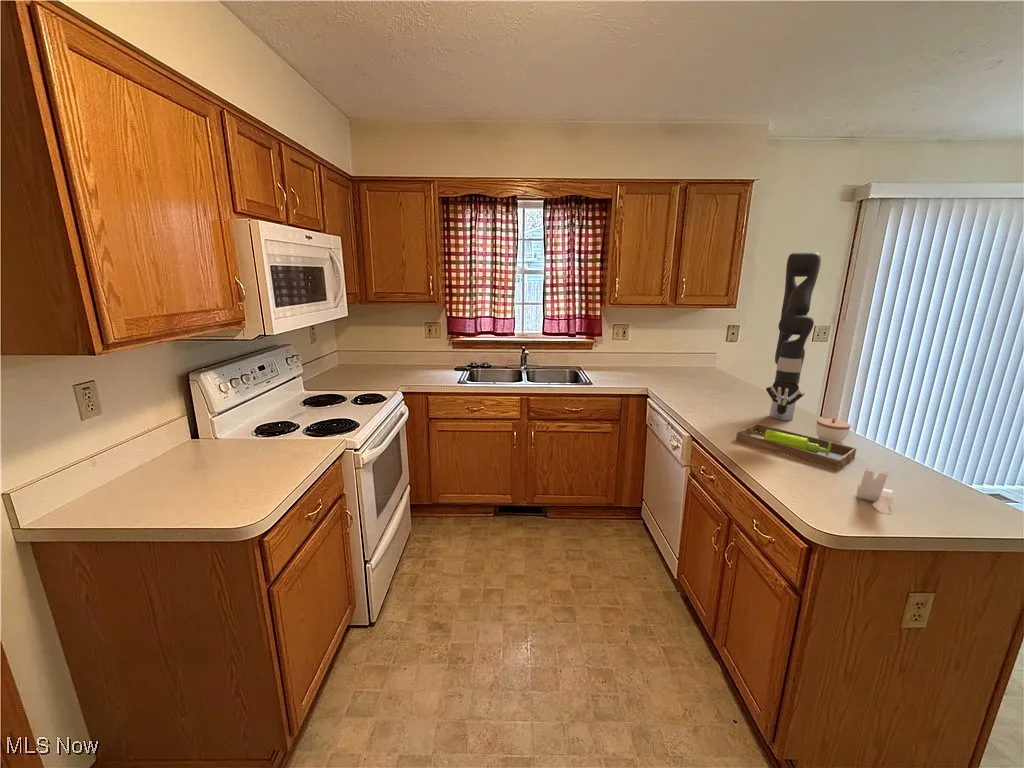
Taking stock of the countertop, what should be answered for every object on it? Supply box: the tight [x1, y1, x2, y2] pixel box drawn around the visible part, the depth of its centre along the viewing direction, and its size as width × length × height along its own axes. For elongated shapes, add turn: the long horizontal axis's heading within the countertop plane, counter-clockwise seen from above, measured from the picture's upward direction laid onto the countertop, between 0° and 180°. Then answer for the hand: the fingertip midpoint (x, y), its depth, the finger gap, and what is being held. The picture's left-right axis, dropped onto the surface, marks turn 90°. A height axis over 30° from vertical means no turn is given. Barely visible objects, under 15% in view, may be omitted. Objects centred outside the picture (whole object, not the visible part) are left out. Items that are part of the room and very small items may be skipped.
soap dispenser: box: [763, 430, 831, 456], centre depth 160 cm, size 6×7×20 cm
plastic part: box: [855, 467, 894, 516], centre depth 124 cm, size 8×10×12 cm
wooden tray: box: [735, 423, 857, 471], centre depth 165 cm, size 18×34×4 cm, turn 39°
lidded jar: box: [815, 417, 851, 444], centre depth 172 cm, size 11×11×9 cm
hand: (781, 413), depth 167 cm, fingers closed
